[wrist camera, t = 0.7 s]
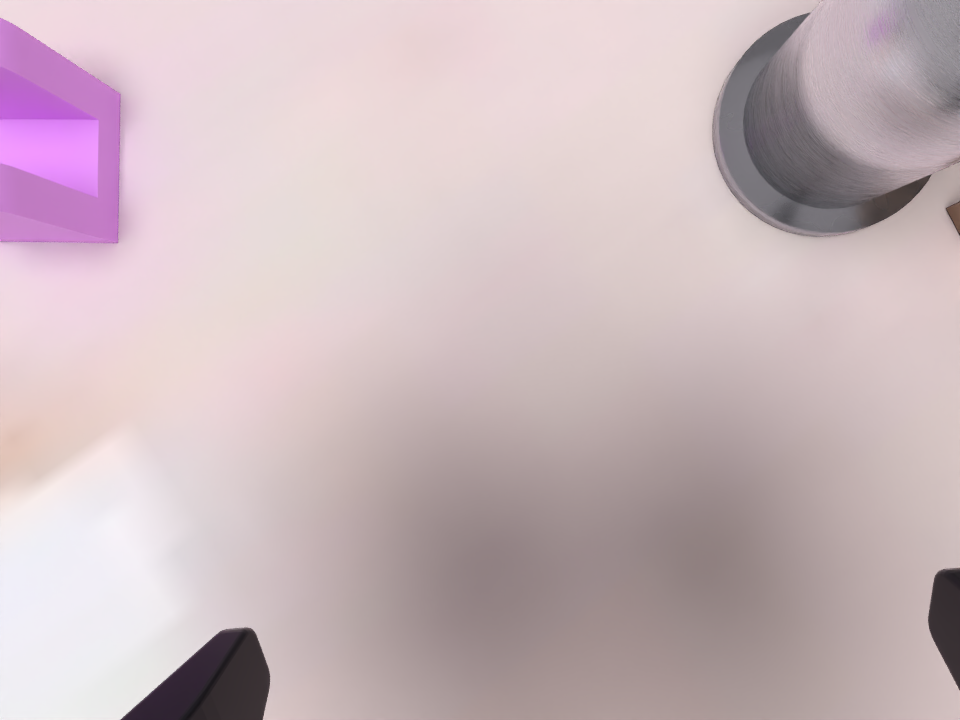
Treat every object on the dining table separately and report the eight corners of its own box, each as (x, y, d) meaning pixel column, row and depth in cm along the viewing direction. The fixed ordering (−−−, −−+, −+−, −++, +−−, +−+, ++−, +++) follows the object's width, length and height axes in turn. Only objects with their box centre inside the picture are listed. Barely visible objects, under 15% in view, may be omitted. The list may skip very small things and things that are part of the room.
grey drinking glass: (970, 173, 23) (1557, -58, 10) (773, 274, 23) (1095, 176, 10) (869, -18, 23) (1323, -489, 10) (675, 85, 24) (872, -241, 11)
